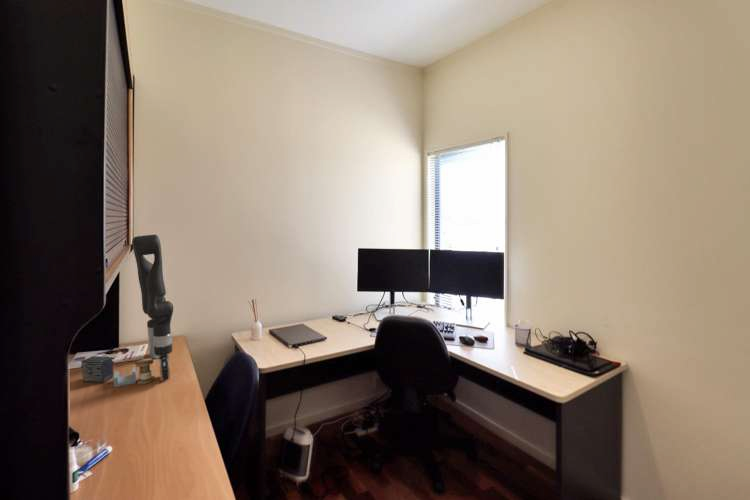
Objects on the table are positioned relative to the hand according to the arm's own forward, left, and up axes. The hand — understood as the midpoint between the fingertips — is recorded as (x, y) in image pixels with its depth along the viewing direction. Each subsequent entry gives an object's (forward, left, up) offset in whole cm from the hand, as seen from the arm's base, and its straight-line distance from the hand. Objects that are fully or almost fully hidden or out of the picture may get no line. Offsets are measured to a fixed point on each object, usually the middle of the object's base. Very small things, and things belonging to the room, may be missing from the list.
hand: (165, 377), depth 172 cm
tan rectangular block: (0, 0, -1) cm, 1 cm away
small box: (-15, -27, -1) cm, 31 cm away
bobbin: (-2, -8, -1) cm, 8 cm away
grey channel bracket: (-6, -16, -1) cm, 17 cm away
